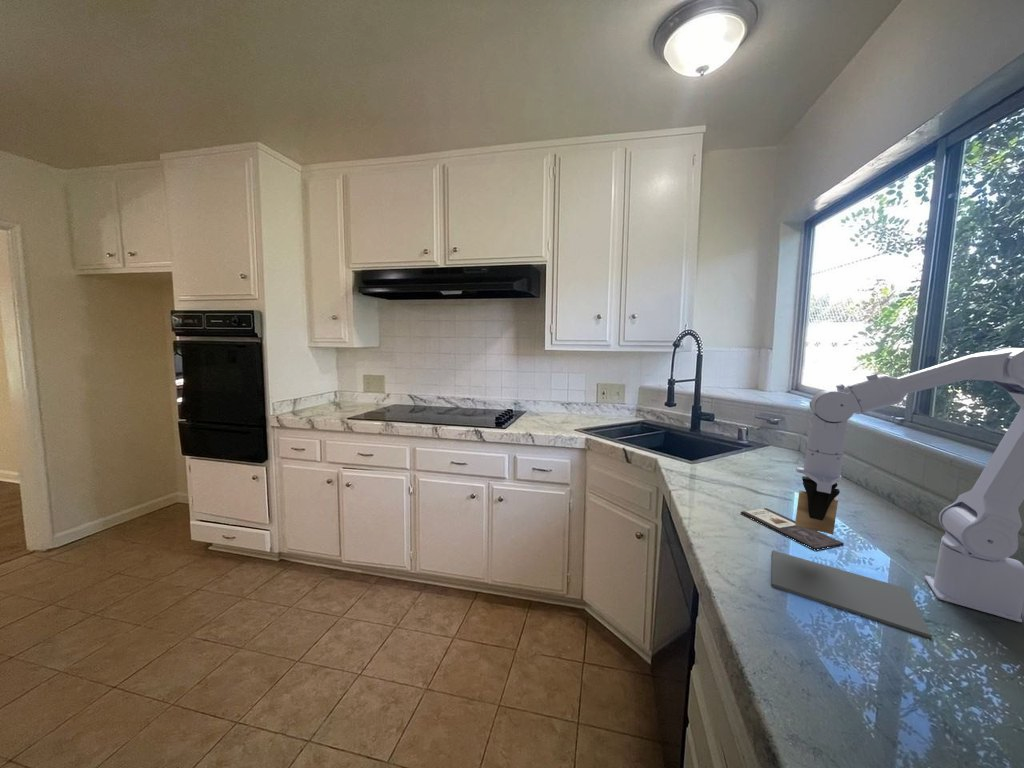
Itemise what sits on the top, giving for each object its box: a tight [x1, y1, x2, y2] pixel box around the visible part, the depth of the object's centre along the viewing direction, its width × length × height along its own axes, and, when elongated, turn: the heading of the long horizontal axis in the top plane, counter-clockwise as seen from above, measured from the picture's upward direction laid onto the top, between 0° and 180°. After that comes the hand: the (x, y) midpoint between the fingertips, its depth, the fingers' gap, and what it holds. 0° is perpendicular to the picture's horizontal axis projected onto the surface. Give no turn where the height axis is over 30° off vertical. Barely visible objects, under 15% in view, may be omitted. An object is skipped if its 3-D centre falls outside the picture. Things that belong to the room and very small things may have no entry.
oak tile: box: [794, 490, 839, 536], centre depth 78 cm, size 6×2×7 cm, turn 56°
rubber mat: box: [771, 550, 933, 639], centre depth 69 cm, size 20×14×1 cm
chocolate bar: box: [740, 508, 844, 551], centre depth 92 cm, size 9×1×18 cm
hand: (815, 516), depth 78 cm, fingers closed on oak tile, 2 cm apart
